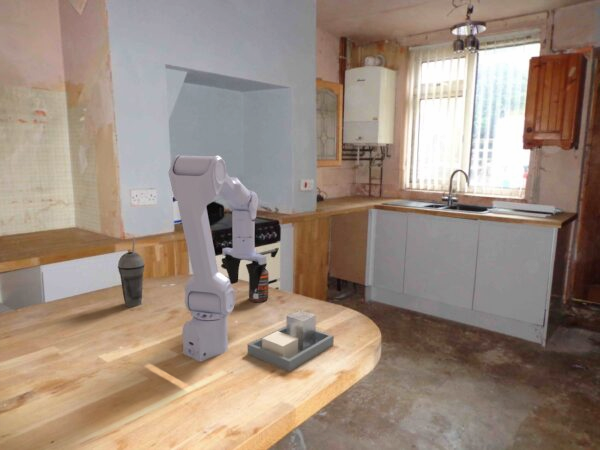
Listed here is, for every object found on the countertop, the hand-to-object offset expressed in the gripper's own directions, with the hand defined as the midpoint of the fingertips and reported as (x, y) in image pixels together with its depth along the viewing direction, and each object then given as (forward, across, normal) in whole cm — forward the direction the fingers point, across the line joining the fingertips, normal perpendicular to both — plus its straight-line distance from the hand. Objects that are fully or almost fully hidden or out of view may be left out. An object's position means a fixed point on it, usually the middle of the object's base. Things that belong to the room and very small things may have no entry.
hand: (243, 285), depth 113 cm
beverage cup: (+10, +33, +13) cm, 37 cm away
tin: (+9, -22, +3) cm, 24 cm away
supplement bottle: (+10, +8, -14) cm, 19 cm away
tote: (+9, -22, +6) cm, 25 cm away
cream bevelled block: (+9, -22, +10) cm, 26 cm away
